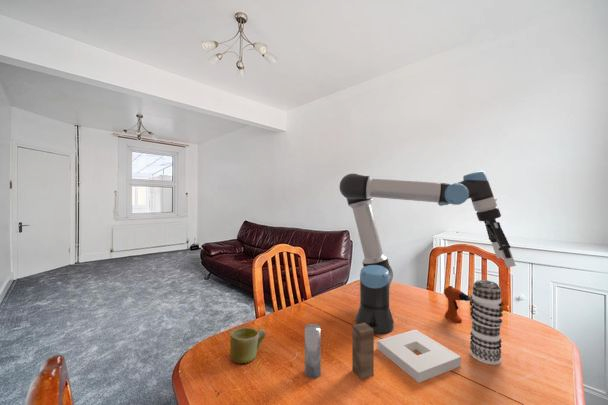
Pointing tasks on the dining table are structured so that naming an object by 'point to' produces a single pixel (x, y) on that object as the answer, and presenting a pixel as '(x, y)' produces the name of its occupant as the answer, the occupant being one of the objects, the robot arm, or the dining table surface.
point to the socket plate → (418, 366)
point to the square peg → (363, 350)
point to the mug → (245, 344)
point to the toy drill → (454, 303)
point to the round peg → (312, 350)
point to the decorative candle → (486, 322)
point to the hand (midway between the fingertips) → (505, 261)
